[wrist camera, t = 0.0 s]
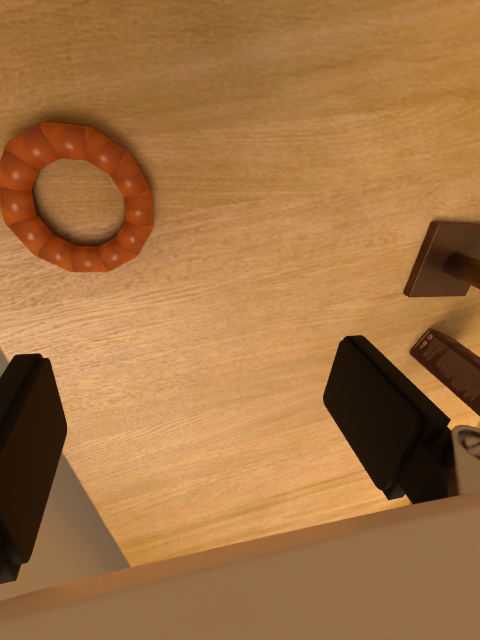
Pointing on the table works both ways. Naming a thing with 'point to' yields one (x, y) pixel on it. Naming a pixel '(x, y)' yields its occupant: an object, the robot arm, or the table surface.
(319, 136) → the table surface
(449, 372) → the box
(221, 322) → the table surface
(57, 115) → the table surface
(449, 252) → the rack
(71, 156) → the ring
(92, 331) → the table surface
